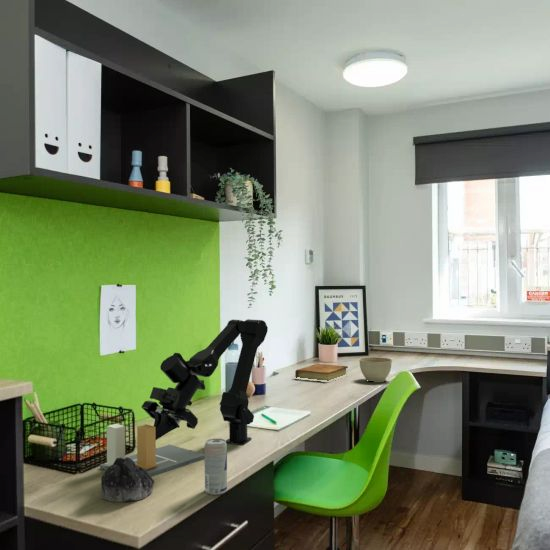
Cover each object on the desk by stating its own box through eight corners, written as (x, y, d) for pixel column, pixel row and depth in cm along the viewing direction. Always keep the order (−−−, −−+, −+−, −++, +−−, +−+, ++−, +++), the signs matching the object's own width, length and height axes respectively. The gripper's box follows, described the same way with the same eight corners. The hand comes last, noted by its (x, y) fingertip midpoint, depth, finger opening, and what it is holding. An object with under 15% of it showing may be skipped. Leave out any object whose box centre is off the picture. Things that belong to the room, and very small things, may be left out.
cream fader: (117, 461, 155) (117, 423, 155) (127, 465, 151) (127, 425, 152) (104, 465, 151) (104, 426, 152) (114, 468, 148) (114, 429, 148)
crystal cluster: (139, 482, 144) (135, 443, 145) (167, 492, 134) (162, 450, 134) (89, 500, 135) (85, 458, 136) (114, 512, 125) (109, 467, 126)
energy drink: (227, 486, 138) (227, 438, 139) (226, 495, 133) (226, 444, 133) (205, 487, 138) (205, 438, 138) (203, 495, 133) (203, 444, 133)
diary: (316, 374, 306) (316, 363, 306) (347, 377, 296) (347, 366, 296) (295, 380, 286) (295, 369, 286) (328, 383, 276) (328, 372, 276)
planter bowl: (353, 381, 279) (353, 359, 279) (368, 377, 292) (368, 356, 292) (383, 385, 269) (382, 362, 269) (397, 380, 282) (397, 358, 282)
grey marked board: (169, 447, 171) (169, 444, 171) (205, 458, 161) (205, 454, 161) (100, 468, 153) (100, 464, 153) (135, 481, 142) (135, 477, 142)
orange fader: (147, 462, 154) (146, 423, 154) (158, 465, 150) (157, 426, 151) (134, 465, 151) (134, 426, 151) (145, 469, 147) (145, 429, 148)
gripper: (146, 372, 162) (113, 417, 154) (189, 379, 150) (156, 429, 142) (168, 395, 168) (137, 440, 160) (211, 404, 156) (180, 453, 147)
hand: (151, 440), depth 152 cm, fingers closed, pressing on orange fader
